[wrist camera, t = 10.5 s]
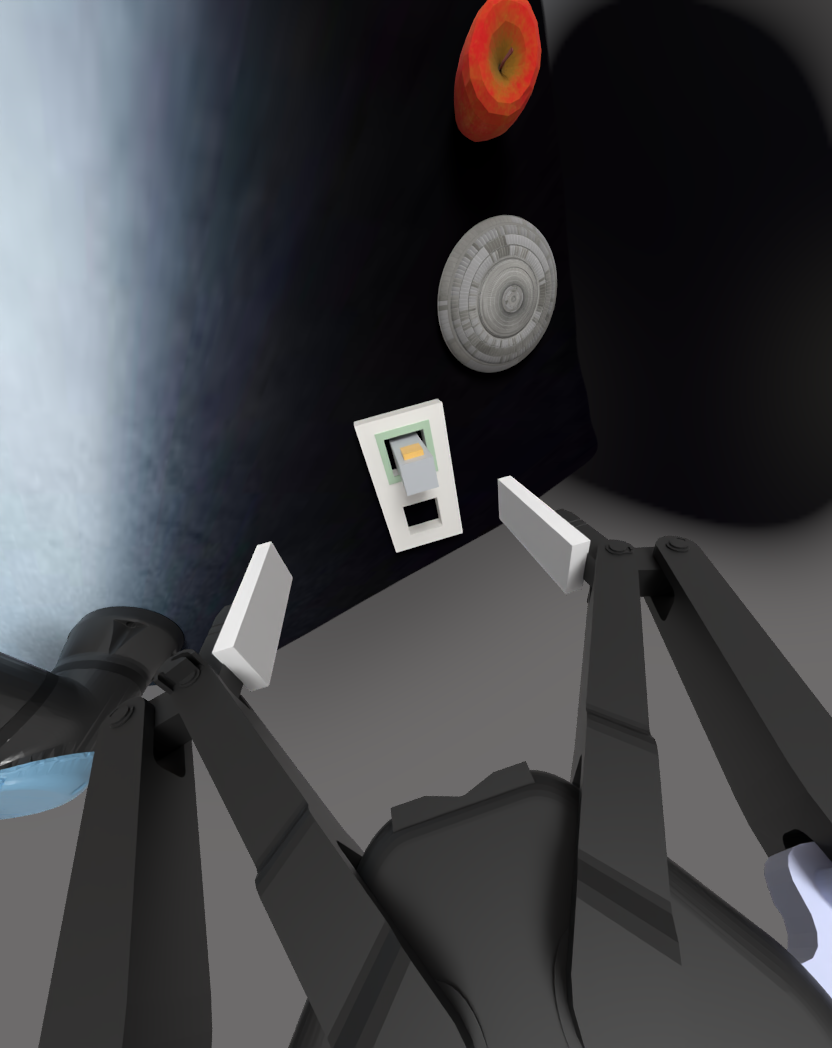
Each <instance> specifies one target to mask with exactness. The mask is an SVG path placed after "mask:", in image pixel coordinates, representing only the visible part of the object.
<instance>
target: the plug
mask: <svg viewBox="0 0 832 1048" xmlns="http://www.w3.org/2000/svg"><path fill="white" fill-rule="evenodd" d="M389 442H390V446H391V450H392V453H393V457H394V461H395V464H396V467H397V469H398V472H399V475H400V477H401V480H402V483H403V485H404V488H405V491H406V493H407V496H409V495H413V494H416V493H420V492H423V491H427V490H430V489H433V488H437V487H439V485H438V480H437V474H436V469H435V464H434V459H433V456H432V454H431V453H430V451H429V450H428V449H427V447H426V446H425V445H424V443H423V442H422V440H421V439H420V438H419V436H418V435H417V433H416V432H415V431H414V432H411V433H407V434H404V435H400V436H397V437H393V438H390V439H389Z"/></svg>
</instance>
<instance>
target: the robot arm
mask: <svg viewBox="0 0 832 1048" xmlns="http://www.w3.org/2000/svg"><path fill="white" fill-rule="evenodd" d="M498 494H499V519H500V520H501V521H502V522H503V523H504V524H505V525H506V526H507V528H508V529H509V530H510V531H511V532H512V533H513V534H514V536H515V537H516V538H517V539H518V540H519V541H520V542H521V544H522V545H523V546H524V547H525V548H526V549H527V550H528V552H529V553H530V554H531V555H532V556H533V557H534V558H535V559H536V561H537V562H538V563H539V564H540V565H541V566H542V568H543V569H544V570H545V571H546V572H547V573H548V574H549V576H550V577H551V578H552V579H553V580H554V581H555V582H556V584H557V585H558V586H559V587H560V588H561V589H562V590H563V591H564V593H565V594H568V593H571V592H574V591H577V590H581V589H582V586H583V580H585V581H586V582H587V583H588V584H589V585H590V589H589V594H588V599H587V603H588V608H587V609H588V610H587V620H586V630H585V641H584V652H583V663H582V674H581V685H580V697H579V707H578V718H577V728H576V740H575V750H574V756H573V763H572V770H571V780H570V782H568V781H566V780H565V779H562V778H560V777H558V776H556V775H554V774H550V773H547V772H543V771H538V770H529V768H528V765H527V763H526V761H525V762H522V763H519V764H516V765H514V766H511V767H507V768H505V769H502V770H499V771H496V772H493V773H492V774H491V775H490V776H488V777H487V778H486V779H485V780H483V781H482V782H481V783H479V784H478V785H477V786H476V787H474V788H473V789H472V790H470V791H469V792H468V793H467V794H466V795H463V796H460V797H449V796H445V797H444V796H424V797H421V798H418V799H415V800H412V801H410V802H407V803H404V804H401V805H398V806H395V807H392V808H391V815H392V819H391V820H389V821H388V822H387V823H386V824H385V825H384V826H383V827H382V828H381V829H380V830H379V831H378V833H377V834H376V835H375V836H374V838H373V839H372V841H371V842H370V844H369V845H368V847H367V849H366V850H365V852H363V851H362V850H361V848H360V847H359V846H358V845H357V844H356V842H355V841H354V840H353V839H352V838H351V837H350V836H349V835H348V834H347V833H346V832H345V831H344V829H343V828H342V827H341V825H340V824H339V823H338V822H337V820H336V819H335V817H334V816H333V815H332V814H331V812H330V811H329V810H328V808H327V807H326V806H325V804H324V803H323V802H322V800H321V799H320V798H319V796H318V795H317V794H316V792H315V791H314V790H313V788H312V787H311V786H310V785H309V783H308V782H307V780H306V779H305V778H304V777H303V775H302V774H301V773H300V771H299V770H298V769H297V767H296V766H295V765H294V763H293V762H292V761H291V759H290V758H289V757H288V755H287V754H286V753H285V751H284V750H283V749H282V748H281V746H280V745H279V743H278V742H277V741H276V740H275V738H274V737H273V736H272V734H271V733H270V732H269V730H268V729H267V728H266V726H265V725H264V724H263V722H262V721H261V720H260V719H259V717H258V716H257V714H256V713H255V712H254V710H253V709H252V708H251V706H250V705H249V704H248V702H247V701H246V700H245V699H244V698H243V696H242V695H240V692H241V689H242V686H243V685H244V686H245V687H246V688H247V689H248V690H249V691H250V692H251V691H254V690H257V689H260V688H264V687H267V686H269V683H270V679H271V674H272V670H273V665H274V661H275V656H276V652H277V647H278V642H279V638H280V633H281V628H282V624H283V619H284V615H285V610H286V605H287V601H288V596H289V592H290V587H291V582H292V578H293V577H292V576H291V574H290V572H289V571H288V569H287V567H286V566H285V564H284V562H283V560H282V559H281V557H280V555H279V554H278V552H277V550H276V549H275V547H274V545H273V544H272V542H268V543H264V544H261V545H257V547H256V550H255V552H254V554H253V557H252V559H251V561H250V564H249V566H248V568H247V571H246V573H245V576H244V578H243V580H242V583H241V585H240V587H239V590H238V592H237V594H236V597H235V599H234V601H233V604H231V605H228V606H225V607H224V608H223V609H222V610H221V611H220V613H219V614H218V615H217V616H216V618H215V620H214V622H213V625H212V628H211V629H210V631H209V633H208V636H207V637H206V640H205V642H204V644H203V646H202V648H201V650H200V653H199V655H198V654H197V653H196V652H195V651H194V650H192V649H185V650H183V651H180V650H181V648H182V646H183V643H184V637H183V634H182V631H181V630H180V628H179V627H178V626H177V625H176V624H175V623H174V622H172V621H171V620H169V619H168V618H166V617H164V616H162V615H160V614H158V613H155V612H152V611H149V610H145V609H141V608H135V607H108V608H103V609H99V610H96V611H93V612H91V613H89V614H87V615H86V616H85V617H83V618H82V619H81V620H80V621H79V623H78V624H77V625H76V626H75V627H74V628H73V629H72V630H71V632H70V633H69V635H68V639H67V642H66V644H65V646H64V648H63V650H62V653H61V655H60V658H59V660H58V663H57V665H56V667H55V668H54V669H53V671H52V672H48V671H46V670H43V669H41V668H38V667H36V666H34V665H31V664H29V663H26V662H24V661H21V660H19V659H16V658H14V657H11V656H9V655H6V654H4V653H1V652H0V819H8V818H15V817H21V816H26V815H31V814H35V813H39V812H43V811H46V810H50V809H53V808H56V807H58V806H61V805H63V804H65V803H67V802H69V801H70V800H72V799H74V798H75V797H77V796H78V795H79V794H81V793H82V792H83V791H84V790H85V789H86V788H87V787H88V789H87V794H86V799H85V805H84V810H83V815H82V821H81V825H80V831H79V836H78V842H77V847H76V852H75V858H74V862H73V868H72V873H71V879H70V884H69V889H68V894H67V900H66V905H65V910H64V916H63V921H62V926H61V931H60V937H59V942H58V948H57V952H56V958H55V963H54V968H53V973H52V979H51V985H50V990H49V995H48V1000H47V1005H46V1011H45V1016H44V1021H43V1026H42V1032H41V1037H40V1043H39V1048H211V1045H212V1013H211V990H210V976H209V963H208V950H207V937H206V924H205V910H204V897H203V885H202V871H201V858H200V845H199V832H198V819H197V806H196V793H195V780H194V766H193V754H192V740H193V742H194V744H195V746H196V748H197V750H198V752H199V754H200V756H201V758H202V760H203V762H204V764H205V766H206V768H207V770H208V771H209V774H210V776H211V778H212V780H213V782H214V784H215V786H216V788H217V789H218V792H219V794H220V796H221V798H222V800H223V801H224V804H225V806H226V808H227V810H228V812H229V814H230V816H231V818H232V820H233V821H234V824H235V825H236V828H237V830H238V832H239V834H240V836H241V837H242V840H243V842H244V843H245V846H246V848H247V850H248V852H249V854H250V856H251V858H252V860H253V862H254V863H255V866H256V868H257V873H258V874H257V876H256V879H255V883H256V889H257V891H258V894H259V896H260V899H261V901H262V903H263V905H264V907H265V909H266V911H267V913H268V915H269V918H270V920H271V922H272V924H273V926H274V928H275V930H276V932H277V934H278V936H279V939H280V941H281V943H282V945H283V947H284V949H285V951H286V953H287V955H288V958H289V960H290V961H291V964H292V966H293V968H294V970H295V972H296V974H297V976H298V978H299V981H300V983H301V985H302V987H303V989H304V991H305V993H306V995H307V997H308V998H307V1000H306V1003H305V1006H304V1008H303V1011H302V1013H301V1016H300V1019H299V1021H298V1024H297V1026H296V1029H295V1032H294V1034H293V1037H292V1039H291V1043H290V1045H289V1047H288V1048H832V717H831V716H830V715H829V713H828V712H827V711H826V710H825V708H824V707H823V706H822V704H821V703H820V702H819V701H818V699H817V698H816V697H815V695H814V694H813V693H812V692H811V690H810V689H809V688H808V686H807V685H806V684H805V683H804V681H803V680H802V679H801V677H800V676H799V675H798V673H797V672H796V671H795V670H794V668H793V667H792V666H791V664H790V663H789V662H788V661H787V659H786V658H785V657H784V656H783V654H782V653H781V652H780V650H779V649H778V648H777V646H776V645H775V644H774V643H773V641H772V640H771V639H770V637H769V636H768V635H767V634H766V632H765V631H764V630H763V628H762V627H761V626H760V625H759V623H758V622H757V621H756V619H755V618H754V617H753V615H752V614H751V613H750V612H749V610H748V609H747V608H746V607H745V605H744V604H743V603H742V601H741V600H740V599H739V598H738V596H737V595H736V594H735V592H734V591H733V590H732V588H731V587H730V586H729V585H728V583H727V582H726V581H725V579H724V578H723V577H722V576H721V574H720V573H719V572H718V570H717V569H716V568H715V567H714V565H713V564H712V563H711V561H710V560H709V559H708V557H707V556H706V555H705V554H704V552H703V551H702V550H701V548H700V547H699V546H698V545H697V544H696V543H694V542H692V541H690V540H688V539H686V538H682V537H678V536H664V537H661V538H659V539H658V540H657V542H656V544H655V547H642V548H634V547H633V546H632V545H631V544H629V543H626V542H624V541H620V540H608V539H606V538H605V537H604V536H603V535H601V534H600V533H599V532H597V531H596V530H595V529H593V528H592V527H591V526H589V525H588V524H586V523H585V522H584V521H583V520H580V518H579V517H577V516H576V515H575V514H573V513H572V512H569V511H567V510H564V509H560V510H556V511H553V510H552V509H551V508H550V507H549V506H547V505H546V504H545V503H544V502H542V501H541V500H540V499H539V498H537V497H536V496H535V495H534V494H532V493H531V492H530V491H529V490H528V489H526V488H525V487H524V486H523V485H521V484H520V483H519V482H518V481H516V480H515V479H514V478H513V477H511V476H507V477H504V478H500V479H498ZM640 597H644V599H645V601H646V603H647V605H648V607H649V610H650V612H651V614H652V616H653V618H654V620H655V623H656V625H657V627H658V629H659V631H660V634H661V636H662V638H663V640H664V642H665V645H666V647H667V649H668V651H669V653H670V656H671V658H672V660H673V662H674V664H675V667H676V669H677V671H678V673H679V675H680V678H681V680H682V682H683V684H684V686H685V689H686V691H687V693H688V695H689V697H690V700H691V702H692V704H693V706H694V708H695V710H696V713H697V715H698V717H699V719H700V722H701V724H702V726H703V728H704V730H705V732H706V735H707V737H708V739H709V741H710V743H711V746H712V748H713V750H714V752H715V754H716V757H717V759H718V761H719V763H720V765H721V768H722V770H723V772H724V774H725V776H726V779H727V781H728V783H729V785H730V787H731V790H732V792H733V794H734V796H735V798H736V800H737V802H738V804H739V806H740V808H741V810H742V812H743V814H744V816H745V818H746V820H747V822H748V824H749V826H750V827H751V829H752V831H753V832H754V834H755V836H756V837H757V839H758V841H759V842H760V844H761V845H762V847H763V849H764V850H765V852H766V854H767V855H768V857H769V858H768V859H767V861H766V863H765V868H764V875H765V879H766V883H767V887H768V889H769V891H770V894H771V897H772V900H773V903H774V905H775V906H776V908H777V909H778V911H779V912H780V913H781V915H782V917H783V919H784V923H785V926H786V930H787V933H788V949H787V950H786V949H785V948H784V947H782V945H780V944H779V943H778V942H777V941H775V939H773V938H772V937H771V936H770V935H768V934H767V933H766V932H764V931H763V930H762V929H761V928H759V927H758V926H757V925H755V924H754V923H753V922H751V921H750V920H749V919H747V918H746V917H745V916H743V915H742V914H741V913H740V912H738V911H737V910H736V909H735V908H733V907H732V906H730V905H729V904H728V903H727V902H725V901H724V900H723V899H722V898H720V897H719V896H717V895H716V894H715V893H714V892H712V891H711V890H710V889H709V888H707V887H706V886H705V885H703V884H702V883H701V882H699V881H698V880H697V879H695V878H694V877H693V876H691V875H690V874H689V873H688V872H686V871H685V870H684V869H683V868H681V867H680V866H679V865H677V864H676V863H675V862H673V861H672V860H671V859H669V858H668V857H667V853H666V842H665V831H664V830H665V829H664V817H663V806H662V794H661V782H660V771H659V759H658V750H657V745H656V741H655V739H654V738H653V737H652V736H651V734H650V731H649V719H648V705H647V690H646V676H645V662H644V647H643V633H642V618H641V604H640ZM153 680H154V683H155V684H156V685H158V686H159V687H160V688H162V689H163V690H164V691H166V692H165V693H163V694H161V695H160V696H157V697H156V698H154V699H152V700H150V701H147V700H146V699H144V698H142V697H141V696H142V694H143V692H144V691H145V689H146V687H147V686H148V685H149V684H150V683H151V682H152V681H153Z"/></svg>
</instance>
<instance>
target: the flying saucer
mask: <svg viewBox="0 0 832 1048" xmlns="http://www.w3.org/2000/svg"><path fill="white" fill-rule="evenodd" d="M556 293H557V273H556V266H555V261H554V258H553V254H552V252H551V249H550V247H549V245H548V243H547V241H546V239H545V238H544V236H543V235H542V234H541V233H540V231H539V230H538V229H537V228H536V227H535V226H533V225H532V224H531V223H529V222H528V221H526V220H524V219H522V218H519V217H516V216H511V215H500V216H495V217H491V218H488V219H486V220H484V221H482V222H480V223H478V224H477V225H475V226H474V227H472V228H471V229H470V230H469V231H468V232H467V233H466V234H465V235H464V236H463V237H462V238H461V239H460V240H459V242H458V243H457V244H456V246H455V247H454V249H453V251H452V252H451V254H450V256H449V258H448V260H447V262H446V265H445V267H444V270H443V273H442V277H441V280H440V285H439V292H438V318H439V324H440V328H441V332H442V335H443V337H444V340H445V342H446V344H447V346H448V348H449V349H450V351H451V352H452V354H453V355H454V356H455V357H456V358H457V359H458V360H459V361H460V362H461V363H462V364H464V365H465V366H467V367H469V368H471V369H473V370H476V371H479V372H486V373H492V372H499V371H503V370H506V369H508V368H510V367H512V366H514V365H516V364H517V363H519V362H520V361H522V360H523V359H524V358H525V357H526V356H527V355H528V354H529V353H530V352H531V351H532V350H533V349H534V348H535V346H536V345H537V344H538V342H539V341H540V339H541V338H542V336H543V334H544V333H545V331H546V329H547V327H548V324H549V322H550V319H551V316H552V313H553V310H554V305H555V300H556Z"/></svg>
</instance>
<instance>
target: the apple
mask: <svg viewBox="0 0 832 1048" xmlns="http://www.w3.org/2000/svg"><path fill="white" fill-rule="evenodd" d="M540 58H541V45H540V38H539V31H538V24H537V20H536V18H535V15H534V13H533V11H532V8H531V6H530V4H529V2H528V1H527V0H488V1H487V2H486V3H485V4H484V5H483V7H482V8H481V9H480V10H479V11H478V13H477V15H476V17H475V19H474V21H473V23H472V26H471V28H470V31H469V33H468V35H467V38H466V41H465V44H464V46H463V49H462V52H461V55H460V59H459V64H458V69H457V74H456V79H455V88H454V109H455V119H456V123H457V126H458V129H459V130H460V132H461V133H462V134H463V135H464V136H465V137H467V138H468V139H470V140H472V141H474V142H480V141H486V140H489V139H492V138H495V137H497V136H500V135H501V134H503V133H504V132H506V131H507V129H508V128H509V127H510V126H511V125H512V124H513V123H514V122H515V121H516V119H517V118H518V116H519V115H520V113H521V112H522V110H523V109H524V107H525V105H526V103H527V101H528V99H529V97H530V95H531V93H532V90H533V87H534V84H535V81H536V78H537V75H538V72H539V69H540Z"/></svg>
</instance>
